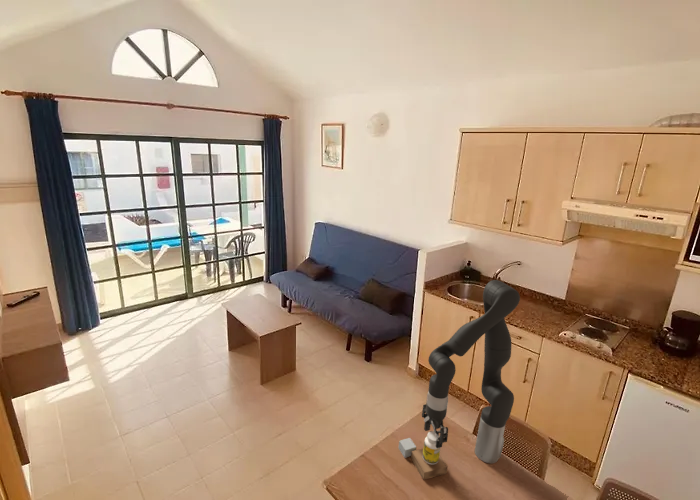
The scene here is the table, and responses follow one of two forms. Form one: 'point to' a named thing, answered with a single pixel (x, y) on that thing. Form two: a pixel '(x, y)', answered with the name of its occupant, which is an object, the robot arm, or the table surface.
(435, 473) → the walnut block
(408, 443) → the slate block
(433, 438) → the pill bottle
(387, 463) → the table surface
